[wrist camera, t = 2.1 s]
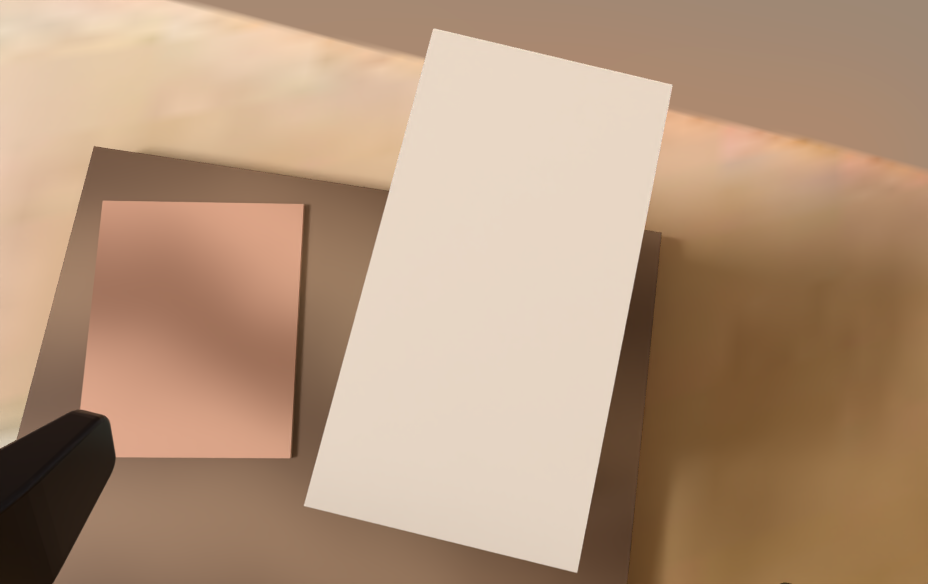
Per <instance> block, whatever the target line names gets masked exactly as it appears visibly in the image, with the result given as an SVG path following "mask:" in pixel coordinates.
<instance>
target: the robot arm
mask: <svg viewBox="0 0 928 584" xmlns="http://www.w3.org/2000/svg"><path fill="white" fill-rule="evenodd" d="M115 460H116V453H115V448H114V442H113V436H112V430H111V424H110V421H109V419H108V418H107V417H106V416H105V415H102V414H98V413H94V412H90V411H86V410H79V409H78V410H73V411H70V412H68V413H66V414H64V415H62V416H60V417H58V418H56V419H55V420H53V421H51V422H49V423H47V424H45V425H43V426H42V427H40V428H38V429H36V430H34V431H32V432H30V433H28V434H27V435H25V436H23V437H21V438H19V439H17V440H15V441H14V442H12V443H10V444H8V445H6V446H4V447H2V448H0V584H53V582H54V581H55V579H56V577H57V576H58V574H59V572H60V570H61V568H62V567H63V565H64V563H65V561H66V559H67V557H68V555H69V554H70V552H71V550H72V548H73V546H74V544H75V542H76V540H77V538H78V536H79V535H80V533H81V531H82V529H83V527H84V525H85V523H86V521H87V519H88V518H89V516H90V514H91V512H92V510H93V508H94V506H95V504H96V502H97V500H98V499H99V497H100V495H101V493H102V491H103V489H104V487H105V485H106V483H107V481H108V480H109V478H110V476H111V474H112V471H113V469H114V466H115ZM781 584H790V583H781Z"/></svg>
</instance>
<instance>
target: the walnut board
mask: <svg viewBox="0 0 928 584" xmlns="http://www.w3.org/2000/svg"><path fill="white" fill-rule="evenodd" d="M388 194H389V191H384V190H378V189H371V188H365V187H358V186H352V185H345V184H338V183H332V182H325V181H319V180H312V179H306V178H299V177H292V176H286V175H279V174H273V173H266V172H260V171H253V170H246V169H240V168H233V167H227V166H220V165H214V164H207V163H200V162H194V161H187V160H181V159H174V158H168V157H161V156H154V155H148V154H141V153H135V152H128V151H122V150H115V149H108V148H102V147H95V146H94V148H93V152H92V156H91V160H90V164H89V167H88V171H87V175H86V179H85V183H84V186H83V190H82V194H81V198H80V201H79V205H78V209H77V213H76V217H75V220H74V224H73V228H72V232H71V236H70V239H69V243H68V247H67V251H66V255H65V258H64V262H63V266H62V270H61V273H60V277H59V281H58V285H57V289H56V292H55V296H54V300H53V304H52V308H51V311H50V315H49V319H48V323H47V327H46V330H45V334H44V338H43V342H42V345H41V349H40V353H39V357H38V361H37V364H36V368H35V372H34V376H33V380H32V383H31V387H30V391H29V395H28V399H27V402H26V406H25V410H24V414H23V417H22V421H21V425H20V429H19V433H18V436H17V439H19V438H21V437H23V436H25V435H27V434H28V433H30V432H32V431H34V430H36V429H38V428H40V427H42V426H43V425H45V424H47V423H49V422H51V421H53V420H55V419H56V418H58V417H60V416H62V415H64V414H66V413H68V412H70V411H73V410H78V409H79V410H86V411H90V412H94V413H98V414H102V415H105V416H106V417H107V418H108V419H109V421H110V424H111V430H112V436H113V442H114V448H115V453H116V460H115V466H114V469H113V471H112V474H111V476H110V478H109V480H108V481H107V483H106V485H105V487H104V489H103V491H102V493H101V495H100V497H99V499H98V500H97V502H96V504H95V506H94V508H93V510H92V512H91V514H90V516H89V518H88V519H87V521H86V523H85V525H84V527H83V529H82V531H81V533H80V535H79V536H78V538H77V540H76V542H75V544H74V546H73V548H72V550H71V552H70V554H69V555H68V557H67V559H66V561H65V563H64V565H63V567H62V568H61V570H60V572H59V574H58V576H57V577H56V579H55V581H54V582H53V584H627V580H628V570H629V560H630V550H631V539H632V529H633V519H634V509H635V498H636V488H637V478H638V468H639V458H640V447H641V437H642V427H643V417H644V406H645V396H646V386H647V376H648V365H649V355H650V345H651V335H652V324H653V314H654V304H655V294H656V283H657V273H658V263H659V253H660V242H661V233H660V232H654V231H647V230H644V234H643V239H642V244H641V249H640V254H639V259H638V264H637V269H636V274H635V280H634V285H633V290H632V295H631V300H630V305H629V310H628V315H627V320H626V326H625V331H624V336H623V341H622V346H621V351H620V356H619V361H618V366H617V372H616V377H615V382H614V387H613V392H612V397H611V402H610V407H609V413H608V418H607V423H606V428H605V433H604V438H603V443H602V448H601V453H600V459H599V464H598V469H597V474H596V479H595V484H594V489H593V494H592V499H591V505H590V510H589V515H588V520H587V525H586V530H585V535H584V540H583V545H582V551H581V556H580V561H579V566H578V571H577V573H576V572H571V571H567V570H563V569H559V568H555V567H551V566H547V565H543V564H539V563H535V562H531V561H527V560H522V559H518V558H514V557H510V556H506V555H502V554H498V553H494V552H490V551H486V550H482V549H478V548H474V547H469V546H465V545H461V544H457V543H453V542H449V541H445V540H441V539H437V538H433V537H429V536H425V535H420V534H416V533H412V532H408V531H404V530H400V529H396V528H392V527H388V526H384V525H380V524H376V523H372V522H367V521H363V520H359V519H355V518H351V517H347V516H343V515H339V514H335V513H331V512H327V511H323V510H318V509H314V508H310V507H306V506H304V503H305V499H306V496H307V492H308V488H309V485H310V481H311V477H312V474H313V470H314V466H315V463H316V459H317V455H318V452H319V448H320V444H321V441H322V437H323V433H324V430H325V426H326V422H327V419H328V415H329V411H330V407H331V404H332V400H333V396H334V393H335V389H336V385H337V382H338V378H339V374H340V371H341V367H342V363H343V360H344V356H345V352H346V349H347V345H348V341H349V338H350V334H351V330H352V326H353V323H354V319H355V315H356V312H357V308H358V304H359V301H360V297H361V293H362V290H363V286H364V282H365V279H366V275H367V271H368V268H369V264H370V260H371V257H372V253H373V249H374V246H375V242H376V238H377V234H378V231H379V227H380V223H381V220H382V216H383V212H384V209H385V205H386V201H387V198H388Z"/></svg>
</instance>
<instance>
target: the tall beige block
mask: <svg viewBox="0 0 928 584" xmlns="http://www.w3.org/2000/svg"><path fill="white" fill-rule="evenodd" d="M671 90H672V85H671V84H667V83H663V82H659V81H654V80H650V79H646V78H641V77H637V76H633V75H629V74H625V73H620V72H616V71H612V70H608V69H603V68H599V67H595V66H591V65H586V64H582V63H578V62H574V61H570V60H565V59H561V58H557V57H553V56H548V55H544V54H540V53H536V52H532V51H527V50H523V49H519V48H515V47H510V46H506V45H501V44H498V43H494V42H489V41H485V40H481V39H477V38H472V37H468V36H464V35H459V34H455V33H451V32H447V31H443V30H438V29H433V32H432V36H431V39H430V43H429V47H428V51H427V54H426V58H425V61H424V65H423V69H422V72H421V76H420V80H419V84H418V87H417V91H416V95H415V98H414V102H413V106H412V109H411V113H410V117H409V120H408V124H407V128H406V131H405V135H404V139H403V142H402V146H401V150H400V153H399V157H398V161H397V165H396V168H395V172H394V176H393V179H392V183H391V187H390V190H389V194H388V198H387V201H386V205H385V209H384V212H383V216H382V220H381V223H380V227H379V231H378V234H377V238H376V242H375V246H374V249H373V253H372V257H371V260H370V264H369V268H368V271H367V275H366V279H365V282H364V286H363V290H362V293H361V297H360V301H359V304H358V308H357V312H356V315H355V319H354V323H353V326H352V330H351V334H350V338H349V341H348V345H347V349H346V352H345V356H344V360H343V363H342V367H341V371H340V374H339V378H338V382H337V385H336V389H335V393H334V396H333V400H332V404H331V407H330V411H329V415H328V419H327V422H326V426H325V430H324V433H323V437H322V441H321V444H320V448H319V452H318V455H317V459H316V463H315V466H314V470H313V474H312V477H311V481H310V485H309V488H308V492H307V496H306V499H305V503H304V506H306V507H310V508H314V509H318V510H323V511H327V512H331V513H335V514H339V515H343V516H347V517H351V518H355V519H359V520H363V521H367V522H372V523H376V524H380V525H384V526H388V527H392V528H396V529H400V530H404V531H408V532H412V533H416V534H420V535H425V536H429V537H433V538H437V539H441V540H445V541H449V542H453V543H457V544H461V545H465V546H469V547H474V548H478V549H482V550H486V551H490V552H494V553H498V554H502V555H506V556H510V557H514V558H518V559H522V560H527V561H531V562H535V563H539V564H543V565H547V566H551V567H555V568H559V569H563V570H567V571H571V572H576V573H577V571H578V566H579V561H580V556H581V551H582V545H583V540H584V535H585V530H586V525H587V520H588V515H589V510H590V505H591V499H592V494H593V489H594V484H595V479H596V474H597V469H598V464H599V459H600V453H601V448H602V443H603V438H604V433H605V428H606V423H607V418H608V413H609V407H610V402H611V397H612V392H613V387H614V382H615V377H616V372H617V366H618V361H619V356H620V351H621V346H622V341H623V336H624V331H625V326H626V320H627V315H628V310H629V305H630V300H631V295H632V290H633V285H634V280H635V274H636V269H637V264H638V259H639V254H640V249H641V244H642V239H643V234H644V228H645V223H646V218H647V213H648V208H649V203H650V198H651V193H652V188H653V182H654V177H655V172H656V167H657V162H658V157H659V152H660V147H661V142H662V136H663V131H664V126H665V121H666V116H667V111H668V106H669V101H670V96H671Z"/></svg>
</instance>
